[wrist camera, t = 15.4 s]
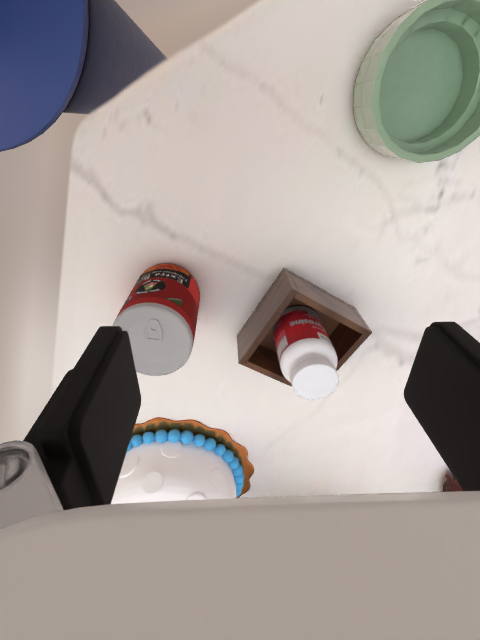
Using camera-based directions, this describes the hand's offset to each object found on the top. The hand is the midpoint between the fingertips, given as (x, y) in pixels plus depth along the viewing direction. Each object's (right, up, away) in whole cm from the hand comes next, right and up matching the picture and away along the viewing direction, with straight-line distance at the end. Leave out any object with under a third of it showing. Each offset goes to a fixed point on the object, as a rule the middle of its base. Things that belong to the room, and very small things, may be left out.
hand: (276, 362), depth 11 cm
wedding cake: (-13, -26, +48) cm, 56 cm away
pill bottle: (+6, +1, +32) cm, 33 cm away
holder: (+6, +1, +33) cm, 33 cm away
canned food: (-10, +5, +30) cm, 32 cm away
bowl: (+15, +23, +20) cm, 34 cm away
